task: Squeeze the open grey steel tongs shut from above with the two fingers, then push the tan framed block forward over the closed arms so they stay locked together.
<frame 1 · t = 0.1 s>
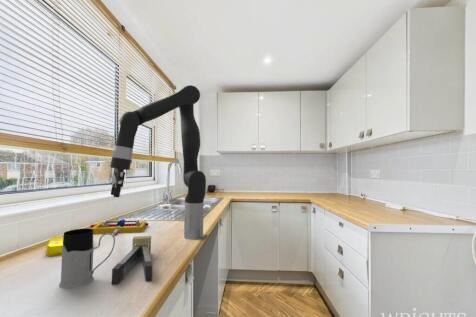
hand: (114, 196, 100), 22 cm above the worktop, tool pointing down, fingers open, 8 cm apart
tan framed block: (141, 246, 92), point 4 cm above the worktop, slide at 0.0 cm
glass holder: (87, 281, 72), on the worktop
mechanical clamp: (116, 232, 127), on the worktop
element tile: (70, 249, 101), on the worktop
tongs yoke: (140, 259, 90), on the worktop
arm right: (127, 263, 80), point 2 cm above the worktop, hinge at 10.0°
arm left: (146, 261, 81), point 2 cm above the worktop, hinge at 10.0°
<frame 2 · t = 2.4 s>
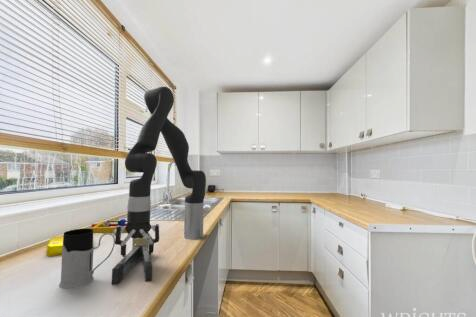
hand: (137, 255, 84), 4 cm above the worktop, tool pointing down, fingers open, 8 cm apart
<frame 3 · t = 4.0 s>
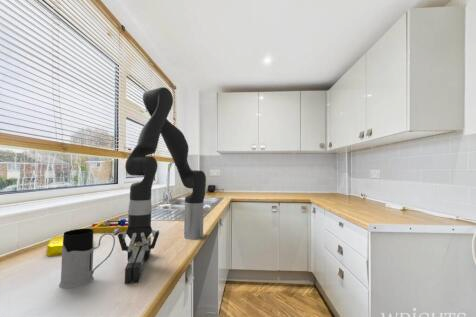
hand: (138, 261, 84), 2 cm above the worktop, tool pointing down, fingers open, 4 cm apart
arm right: (133, 262, 80), point 2 cm above the worktop, hinge at -0.7°, touching gripper
arm left: (140, 262, 81), point 2 cm above the worktop, hinge at -0.8°, touching gripper
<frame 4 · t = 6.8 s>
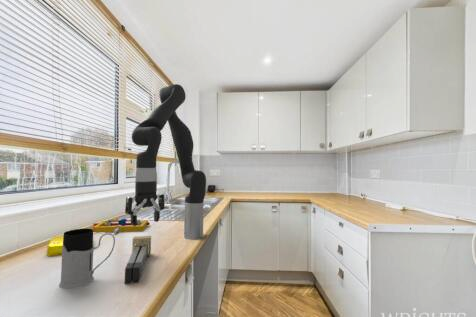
hand: (145, 223, 89), 14 cm above the worktop, tool pointing down, fingers open, 8 cm apart
arm right: (133, 262, 80), point 2 cm above the worktop, hinge at -0.7°
arm left: (140, 262, 81), point 2 cm above the worktop, hinge at -0.8°
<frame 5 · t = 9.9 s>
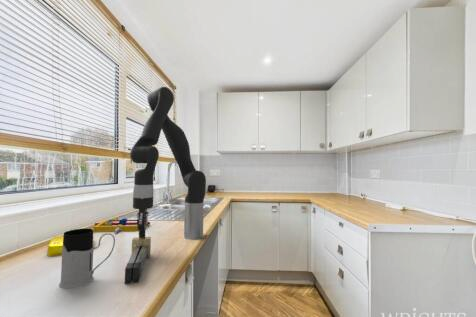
hand: (142, 239, 94), 6 cm above the worktop, tool pointing down, fingers closed
tan framed block: (141, 247, 91), point 4 cm above the worktop, slide at 1.4 cm, touching gripper
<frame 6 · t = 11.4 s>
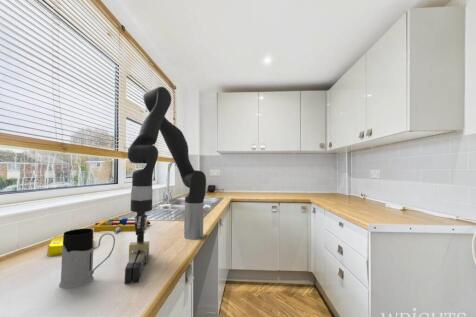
hand: (140, 244, 88), 6 cm above the worktop, tool pointing down, fingers closed
tan framed block: (139, 253, 85), point 4 cm above the worktop, slide at 7.4 cm, touching gripper
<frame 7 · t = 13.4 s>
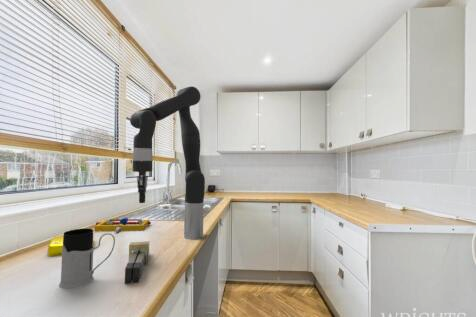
hand: (142, 202, 96), 20 cm above the worktop, tool pointing down, fingers closed
tan framed block: (139, 253, 85), point 4 cm above the worktop, slide at 7.4 cm
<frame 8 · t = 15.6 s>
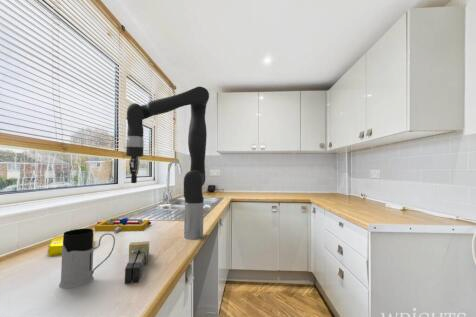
hand: (133, 182, 113), 27 cm above the worktop, tool pointing down, fingers closed
at the end: arm left at -1° (first picture: +10°); arm right at -1° (first picture: +10°); tan framed block slide at 7.4 cm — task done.
